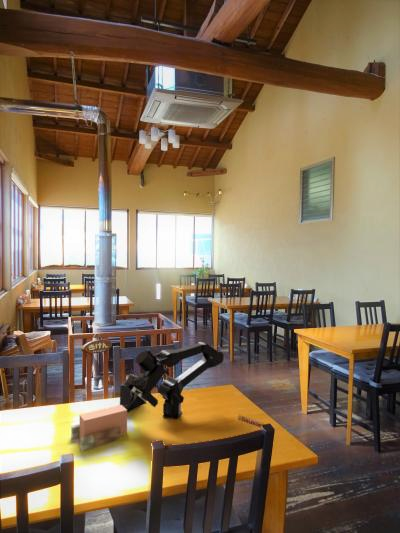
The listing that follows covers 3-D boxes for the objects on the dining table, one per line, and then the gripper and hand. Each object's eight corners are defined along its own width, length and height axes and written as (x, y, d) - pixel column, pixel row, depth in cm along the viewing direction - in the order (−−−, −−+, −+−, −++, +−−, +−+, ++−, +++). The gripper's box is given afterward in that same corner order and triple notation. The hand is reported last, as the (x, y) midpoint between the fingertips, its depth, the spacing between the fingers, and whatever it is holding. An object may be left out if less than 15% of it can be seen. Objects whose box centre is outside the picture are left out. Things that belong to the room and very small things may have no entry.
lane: (107, 426, 142) (107, 416, 142) (120, 439, 133) (120, 428, 133) (71, 437, 134) (71, 426, 134) (81, 451, 125) (81, 439, 124)
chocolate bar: (240, 418, 152) (240, 413, 152) (266, 427, 144) (266, 422, 144) (237, 420, 150) (237, 415, 150) (263, 430, 142) (263, 424, 142)
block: (121, 427, 142) (121, 404, 142) (126, 433, 137) (127, 409, 137) (79, 439, 133) (79, 414, 132) (84, 445, 128) (84, 420, 128)
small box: (133, 410, 157) (133, 386, 156) (119, 408, 158) (119, 385, 158) (142, 400, 167) (142, 378, 167) (128, 399, 169) (128, 376, 168)
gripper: (129, 360, 150) (103, 392, 144) (151, 373, 135) (123, 409, 129) (146, 375, 155) (121, 407, 149) (169, 389, 140) (142, 425, 134)
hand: (126, 411), depth 140 cm, fingers closed
